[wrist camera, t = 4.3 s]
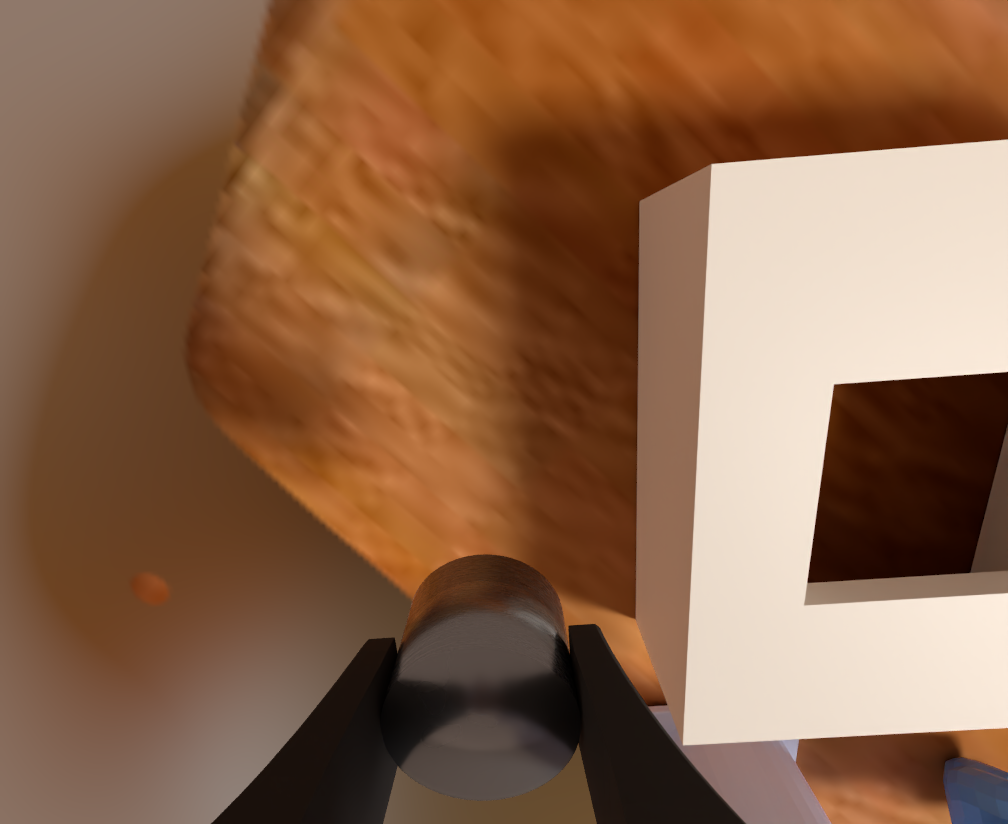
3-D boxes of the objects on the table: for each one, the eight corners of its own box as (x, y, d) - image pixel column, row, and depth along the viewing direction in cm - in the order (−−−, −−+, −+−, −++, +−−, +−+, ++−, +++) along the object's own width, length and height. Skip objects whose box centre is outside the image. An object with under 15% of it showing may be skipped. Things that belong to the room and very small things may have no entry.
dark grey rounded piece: (566, 676, 13) (584, 795, 10) (421, 686, 13) (396, 805, 10) (559, 549, 12) (577, 640, 9) (399, 560, 12) (364, 654, 9)
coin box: (985, 598, 21) (1162, 719, 16) (635, 619, 22) (682, 745, 16) (1102, 163, 16) (1433, 104, 10) (639, 201, 16) (711, 164, 11)
